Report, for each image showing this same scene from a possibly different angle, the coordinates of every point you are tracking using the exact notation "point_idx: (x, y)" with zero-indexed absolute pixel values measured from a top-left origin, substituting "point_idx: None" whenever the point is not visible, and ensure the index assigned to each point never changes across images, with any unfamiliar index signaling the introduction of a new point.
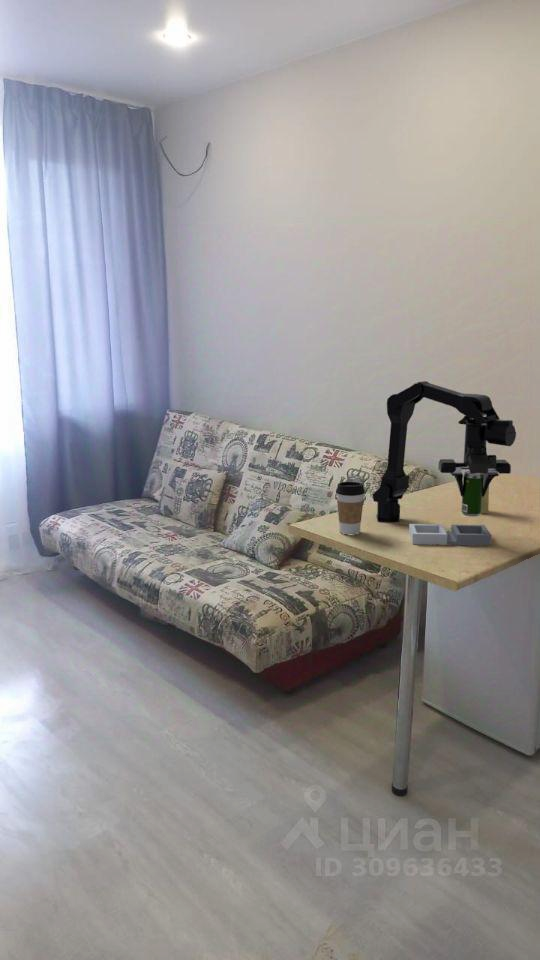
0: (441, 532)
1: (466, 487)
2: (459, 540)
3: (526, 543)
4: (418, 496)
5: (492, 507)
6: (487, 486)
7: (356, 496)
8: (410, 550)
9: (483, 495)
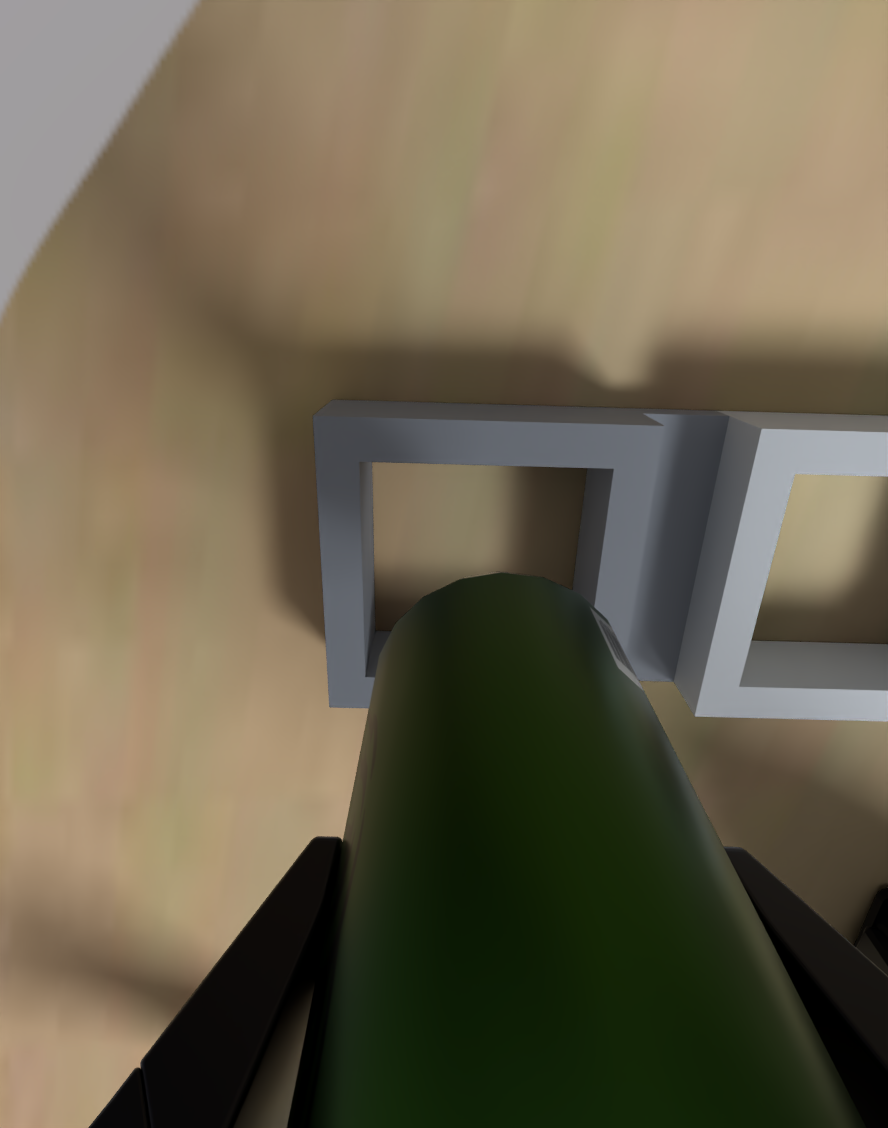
0: (778, 515)
1: (800, 1001)
2: (617, 414)
3: (22, 466)
4: None
5: None
6: (170, 1050)
7: None
8: None
9: (318, 851)
